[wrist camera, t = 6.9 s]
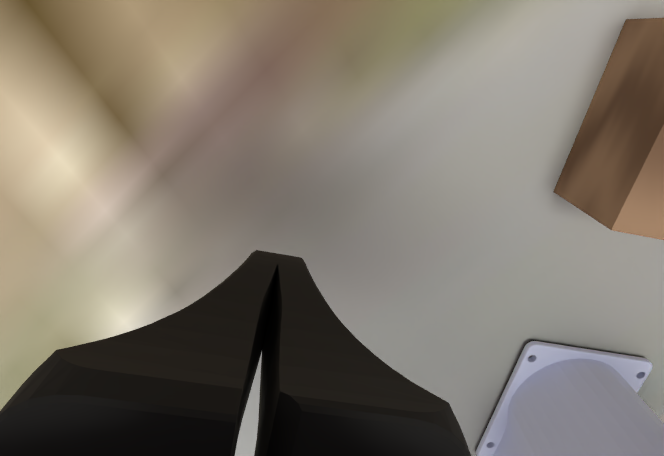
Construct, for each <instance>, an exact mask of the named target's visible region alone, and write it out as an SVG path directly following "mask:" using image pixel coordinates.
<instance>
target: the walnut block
mask: <svg viewBox="0 0 664 456" xmlns="http://www.w3.org/2000/svg"><path fill="white" fill-rule="evenodd" d="M554 192H555V193H556V194H558V195H559V196H561V197H562V198H564V199H565V200H567V201H568V202H570V203H571V204H573V205H574V206H576V207H577V208H579V209H580V210H582V211H583V212H585V213H586V214H588V215H589V216H591V217H592V218H594V219H595V220H597V221H598V222H600V223H601V224H603V225H604V226H606V227H607V228H609V229H610V230H613V231H619V232H624V233H629V234H635V235H640V236H645V237H651V238H656V239H661V240H664V18H650V19H626V21H625V23H624V26H623V28H622V30H621V33H620V35H619V37H618V40H617V42H616V44H615V47H614V49H613V52H612V54H611V56H610V59H609V61H608V63H607V66H606V68H605V71H604V73H603V75H602V78H601V80H600V82H599V85H598V87H597V90H596V92H595V94H594V97H593V99H592V101H591V104H590V106H589V109H588V111H587V113H586V116H585V118H584V120H583V123H582V125H581V128H580V130H579V132H578V135H577V137H576V139H575V142H574V144H573V147H572V149H571V151H570V154H569V156H568V158H567V161H566V163H565V166H564V168H563V170H562V173H561V175H560V177H559V180H558V182H557V185H556V187H555V189H554Z"/></svg>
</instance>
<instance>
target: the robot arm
mask: <svg viewBox="0 0 664 456" xmlns="http://www.w3.org/2000/svg"><path fill="white" fill-rule="evenodd" d="M261 352H262V363H261V382H260V403H259V422H258V433H257V441H256V448H255V455H254V456H471V454H470V451H469V449H468V446H467V443H466V440H465V438H464V435H463V433H462V430H461V428H460V425H459V423H458V421H457V419H456V417H455V415H454V413H453V411H452V409H451V407H450V405H449V403H448V402H446V401H444V400H442V399H441V398H439V397H437V396H435V395H434V394H432V393H430V392H428V391H427V390H425V389H423V388H421V387H420V386H418V385H416V384H414V383H413V382H411V381H410V380H408V379H407V378H405V377H404V376H402V375H401V374H399V373H398V372H396V371H395V370H394V369H392V368H391V367H389V366H388V365H387V364H385V363H384V362H383V361H381V360H380V359H379V358H378V357H377V356H375V355H374V354H373V353H372V352H371V351H370V350H368V349H367V348H366V347H365V346H364V345H363V344H362V343H361V342H360V341H358V340H357V339H356V338H355V337H354V336H353V334H352V333H351V332H350V331H349V330H348V329H347V328H346V327H345V326H344V325H343V324H342V323H341V321H340V320H339V319H338V318H337V317H336V315H335V314H334V313H333V311H332V310H331V308H330V307H329V305H328V304H327V302H326V301H325V299H324V298H323V296H322V295H321V293H320V291H319V290H318V288H317V286H316V284H315V283H314V281H313V279H312V277H311V275H310V273H309V271H308V269H307V266H306V264H305V262H304V260H303V259H302V258H300V257H294V256H288V255H282V254H276V253H270V252H264V251H258V250H256V251H254V252H253V253H251V255H250V256H249V257H248V258H247V260H246V261H245V262H244V263H243V264H242V265H241V266H240V267H239V268H238V269H237V270H236V271H235V272H233V273H232V274H231V275H230V276H229V277H228V278H227V279H226V280H224V281H223V282H222V283H221V284H219V285H218V286H217V287H215V288H214V289H213V290H211V291H210V292H209V293H208V294H206V295H205V296H203V297H202V298H200V299H199V300H197V301H196V302H194V303H193V304H191V305H189V306H188V307H186V308H184V309H182V310H180V311H178V312H176V313H174V314H172V315H170V316H167V317H165V318H163V319H161V320H158V321H156V322H154V323H152V324H149V325H147V326H144V327H141V328H138V329H136V330H133V331H130V332H127V333H124V334H120V335H117V336H114V337H110V338H107V339H103V340H99V341H95V342H90V343H86V344H82V345H78V346H73V347H69V348H64V349H59V350H56V351H55V352H54V353H53V354H52V355H51V356H50V357H49V358H48V359H47V360H46V361H45V362H44V363H43V364H42V365H40V366H39V367H38V368H37V369H36V370H35V371H34V372H33V373H32V375H31V376H30V377H29V378H28V379H27V380H26V381H25V382H24V383H23V384H22V386H21V387H20V388H19V389H18V390H17V392H16V393H15V394H14V395H13V396H12V398H11V399H10V400H9V401H8V402H7V404H6V405H5V406H4V407H3V408H2V410H1V411H0V456H234V455H235V450H236V444H237V439H238V434H239V430H240V426H241V422H242V418H243V414H244V411H245V407H246V404H247V400H248V397H249V394H250V390H251V387H252V383H253V380H254V376H255V373H256V369H257V366H258V362H259V359H260V355H261ZM531 355H533V356H532V357H530V358H528V357H529V356H531ZM652 367H653V365H652V363H651V362H650V361H649V360H648V359H646V358H641V357H634V356H628V355H622V354H615V353H609V352H603V351H596V350H590V349H583V348H577V347H571V346H564V345H558V344H552V343H545V342H539V341H531V342H529V343H527V344H526V345H525V347H524V349H523V351H522V353H521V356H520V358H519V360H518V362H517V364H516V366H515V368H514V371H513V373H512V375H511V377H510V379H509V381H508V383H507V386H506V388H505V390H504V392H503V394H502V396H501V398H500V401H499V403H498V405H497V407H496V409H495V411H494V413H493V416H492V418H491V420H490V422H489V424H488V426H487V428H486V431H485V433H484V435H483V437H482V439H481V441H480V444H479V446H478V448H477V450H476V455H477V456H664V423H663V422H662V421H661V419H660V418H659V417H658V416H657V415H656V414H655V413H654V411H653V410H652V409H651V408H650V407H649V406H648V405H647V404H646V403H645V401H644V400H643V399H642V398H641V397H640V396H639V395H638V394H637V392H638V391H639V389H640V388H641V386H642V384H643V383H644V381H645V380H646V378H647V376H648V375H649V373H650V371H651V370H652ZM489 442H490V443H489Z"/></svg>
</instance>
